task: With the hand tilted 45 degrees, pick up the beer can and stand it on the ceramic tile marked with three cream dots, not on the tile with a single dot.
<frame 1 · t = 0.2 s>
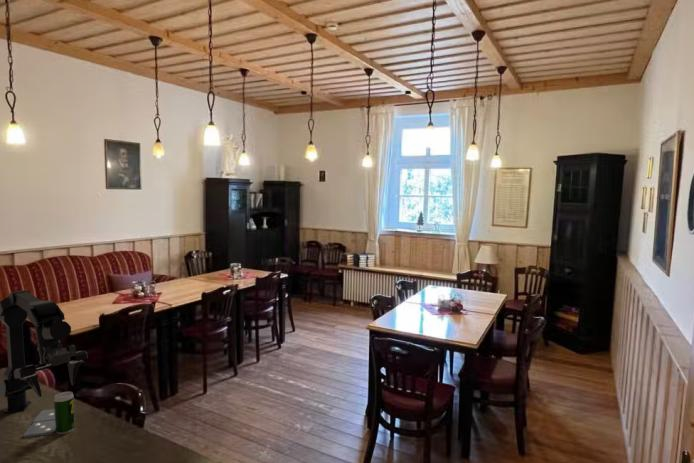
hand: (57, 391, 134), 15 cm above the table, tool tilted 15°, fingers open, 9 cm apart
one-dot tile: (50, 416, 148), on the table
beer can: (65, 430, 140), on the table
three-dot tile: (42, 429, 140), on the table
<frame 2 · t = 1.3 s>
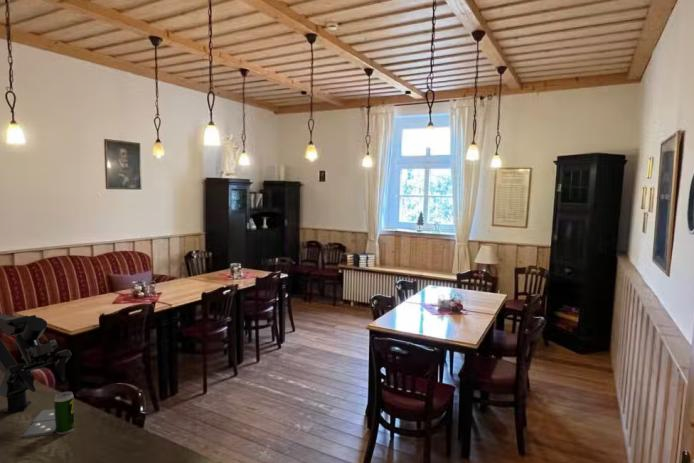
hand: (49, 385, 142), 13 cm above the table, tool tilted 45°, fingers open, 9 cm apart
nothing on the table moved.
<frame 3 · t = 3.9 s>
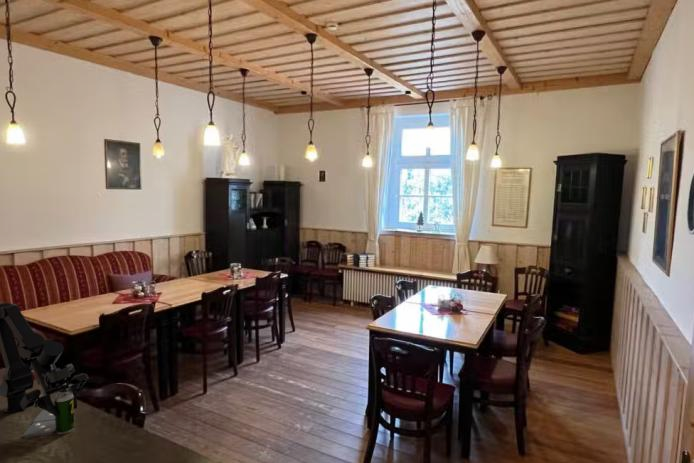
hand: (67, 411, 138), 7 cm above the table, tool tilted 45°, fingers closed on beer can, 5 cm apart
beer can: (65, 430, 139), on the table, touching gripper
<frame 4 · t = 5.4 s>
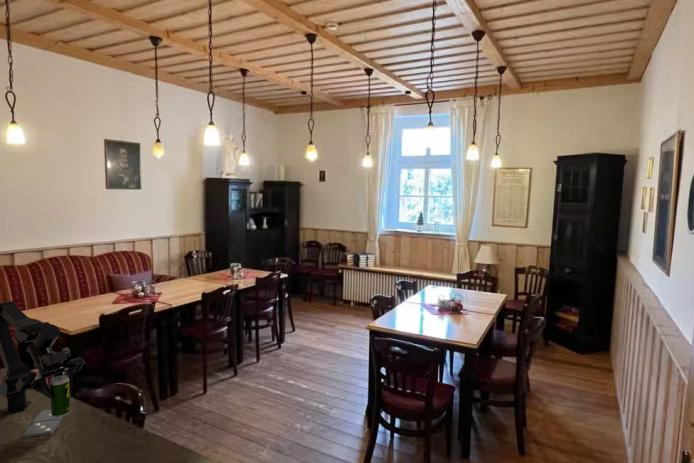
hand: (62, 395, 138), 12 cm above the table, tool tilted 45°, fingers closed on beer can, 5 cm apart
beer can: (61, 414, 139), point 5 cm above the table, touching gripper
when the fingers open (8 cm above the table, at t = 7.2 s): beer can stays where it is, resting on three-dot tile.
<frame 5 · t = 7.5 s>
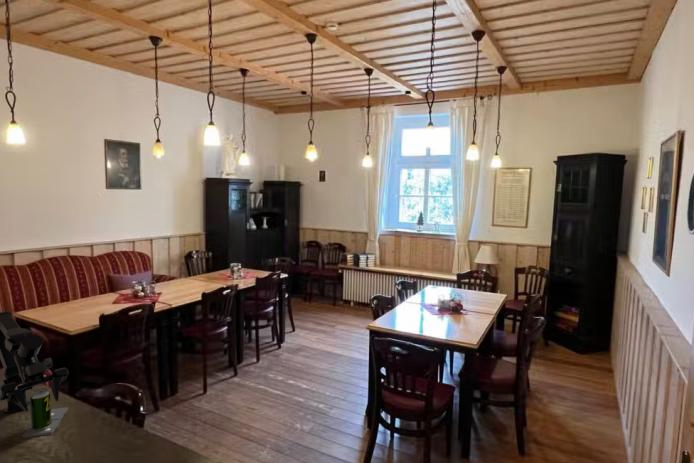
hand: (42, 405, 138), 8 cm above the table, tool tilted 45°, fingers open, 8 cm apart
beer can: (42, 427, 140), point 1 cm above the table, touching three-dot tile
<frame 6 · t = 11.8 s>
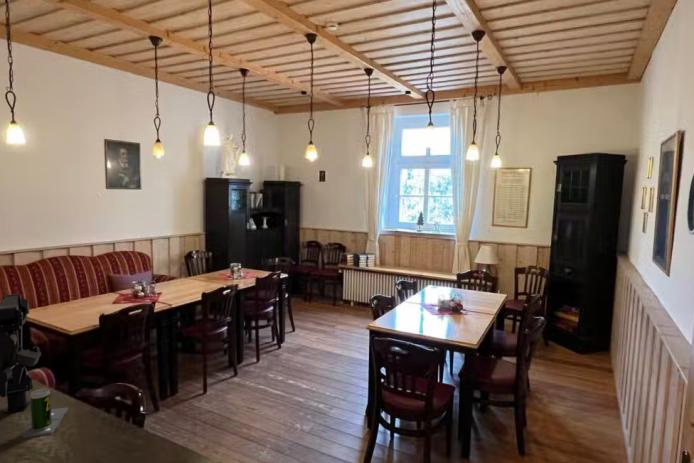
hand: (10, 390, 141), 12 cm above the table, tool pointing down, fingers open, 9 cm apart
nothing on the table moved.
at the end: beer can 0.1 cm off-centre on the three-dot tile, point 0.6 cm above the three-dot tile's base; beer can tilted 0°; the gripper is holding nothing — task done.
